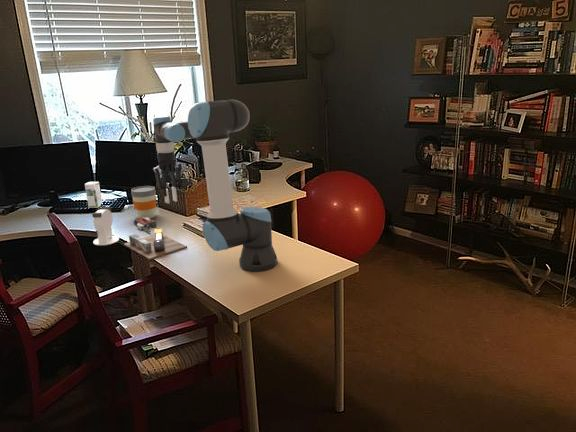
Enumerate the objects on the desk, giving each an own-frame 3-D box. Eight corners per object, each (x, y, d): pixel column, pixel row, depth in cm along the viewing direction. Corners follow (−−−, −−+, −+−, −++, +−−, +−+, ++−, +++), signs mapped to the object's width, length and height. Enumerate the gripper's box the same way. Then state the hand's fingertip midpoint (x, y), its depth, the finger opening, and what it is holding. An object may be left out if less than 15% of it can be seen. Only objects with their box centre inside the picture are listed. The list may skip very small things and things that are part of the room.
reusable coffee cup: (148, 211, 266) (145, 184, 261) (163, 214, 259) (160, 187, 254) (129, 217, 256) (125, 190, 252) (144, 221, 249) (141, 193, 244)
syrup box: (88, 208, 274) (84, 183, 269) (93, 205, 279) (89, 181, 274) (97, 209, 273) (93, 184, 268) (103, 205, 278) (99, 181, 274)
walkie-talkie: (129, 225, 246) (148, 234, 232) (128, 217, 244) (147, 226, 230) (145, 221, 251) (164, 230, 237) (144, 213, 250) (163, 221, 236)
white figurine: (100, 235, 231) (95, 205, 227) (123, 235, 230) (119, 205, 226) (88, 245, 220) (83, 214, 215) (112, 245, 219) (107, 213, 214)
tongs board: (187, 248, 213) (186, 238, 212) (149, 260, 202) (148, 250, 200) (160, 234, 230) (159, 226, 229) (124, 245, 219) (122, 236, 217)
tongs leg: (164, 250, 208) (163, 242, 207) (154, 252, 207) (153, 243, 206) (164, 235, 227) (163, 226, 225) (154, 236, 226) (153, 228, 224)
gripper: (177, 147, 224) (182, 196, 231) (144, 153, 213) (151, 204, 221) (186, 149, 218) (191, 199, 226) (152, 155, 208) (159, 207, 216)
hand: (171, 201), depth 223 cm, fingers open, 3 cm apart
